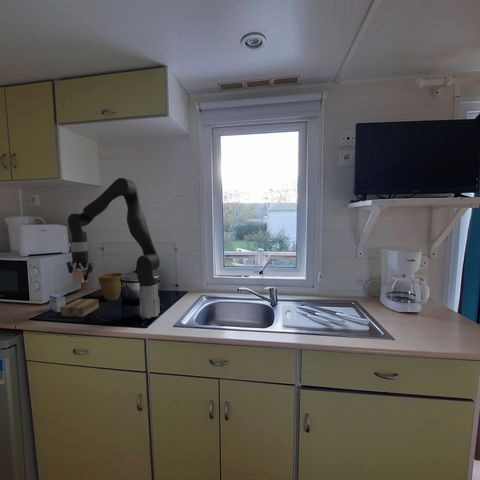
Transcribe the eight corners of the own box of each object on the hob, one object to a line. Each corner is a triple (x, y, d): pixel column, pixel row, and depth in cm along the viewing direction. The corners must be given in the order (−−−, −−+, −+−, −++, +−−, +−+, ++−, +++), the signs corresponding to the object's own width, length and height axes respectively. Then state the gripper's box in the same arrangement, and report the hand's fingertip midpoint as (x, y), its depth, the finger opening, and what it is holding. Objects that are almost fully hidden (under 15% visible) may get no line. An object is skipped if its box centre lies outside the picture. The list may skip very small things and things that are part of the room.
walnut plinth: (98, 307, 145) (98, 299, 144) (82, 316, 131) (82, 307, 130) (79, 307, 145) (78, 298, 145) (61, 316, 131) (60, 307, 131)
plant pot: (129, 298, 162) (128, 274, 161) (105, 304, 150) (104, 278, 149) (118, 294, 171) (117, 271, 170) (95, 299, 159) (94, 275, 158)
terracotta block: (88, 280, 138) (87, 270, 137) (82, 282, 133) (81, 272, 132) (79, 280, 138) (79, 269, 138) (73, 282, 133) (72, 271, 133)
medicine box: (49, 310, 140) (48, 295, 140) (58, 307, 144) (57, 293, 144) (57, 312, 137) (56, 297, 136) (65, 310, 141) (65, 295, 140)
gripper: (96, 249, 138) (97, 279, 139) (71, 249, 138) (73, 278, 140) (88, 251, 130) (89, 282, 132) (61, 250, 131) (63, 281, 132)
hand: (80, 280), depth 136 cm, fingers closed on terracotta block, 5 cm apart
